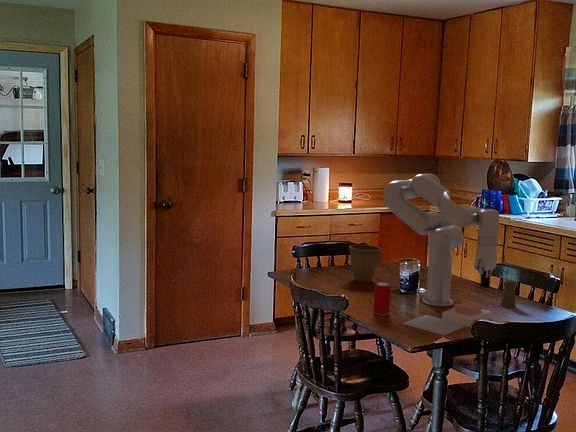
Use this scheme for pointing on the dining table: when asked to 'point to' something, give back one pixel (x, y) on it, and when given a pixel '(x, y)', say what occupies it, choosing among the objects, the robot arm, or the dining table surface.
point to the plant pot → (364, 261)
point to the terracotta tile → (468, 308)
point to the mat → (434, 325)
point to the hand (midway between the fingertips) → (484, 286)
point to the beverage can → (382, 299)
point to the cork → (508, 294)
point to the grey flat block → (465, 316)
